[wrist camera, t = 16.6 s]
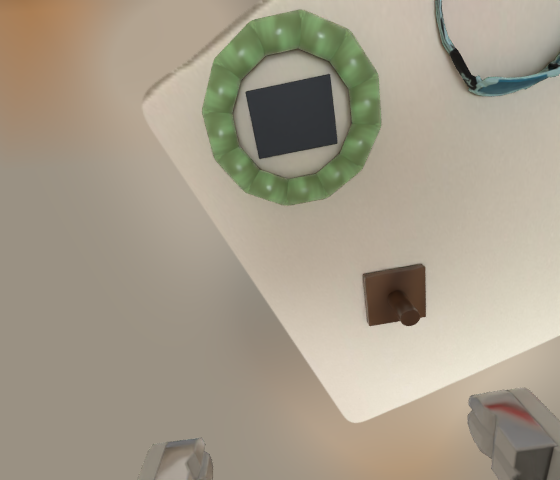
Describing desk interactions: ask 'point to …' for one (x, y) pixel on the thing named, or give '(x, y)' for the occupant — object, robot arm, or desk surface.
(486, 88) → the sunglasses
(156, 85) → the desk surface
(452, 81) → the desk surface
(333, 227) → the desk surface
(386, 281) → the stand
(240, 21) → the desk surface
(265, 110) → the mat
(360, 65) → the ring
